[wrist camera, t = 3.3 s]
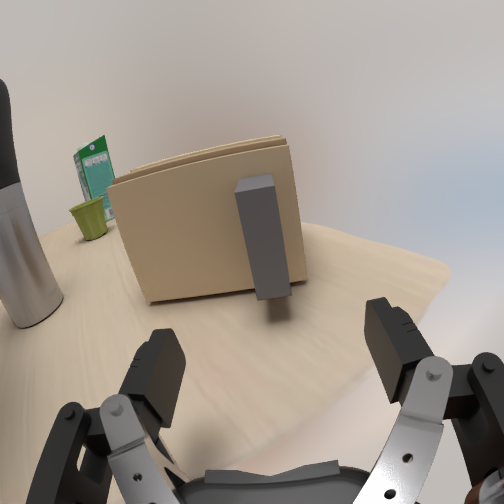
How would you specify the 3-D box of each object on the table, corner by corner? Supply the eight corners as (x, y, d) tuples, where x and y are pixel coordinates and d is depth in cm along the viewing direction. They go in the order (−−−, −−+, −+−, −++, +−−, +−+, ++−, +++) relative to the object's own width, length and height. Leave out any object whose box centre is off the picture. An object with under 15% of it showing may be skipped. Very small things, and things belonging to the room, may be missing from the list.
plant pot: (80, 239, 61) (69, 208, 58) (112, 225, 65) (102, 194, 62) (80, 247, 54) (67, 212, 50) (115, 232, 58) (104, 196, 54)
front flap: (129, 333, 22) (75, 204, 17) (149, 296, 27) (111, 185, 22) (316, 312, 20) (297, 149, 16) (305, 274, 26) (287, 144, 21)
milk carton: (92, 223, 77) (71, 148, 66) (115, 212, 82) (96, 140, 72) (99, 225, 71) (76, 143, 60) (125, 213, 76) (104, 134, 66)
